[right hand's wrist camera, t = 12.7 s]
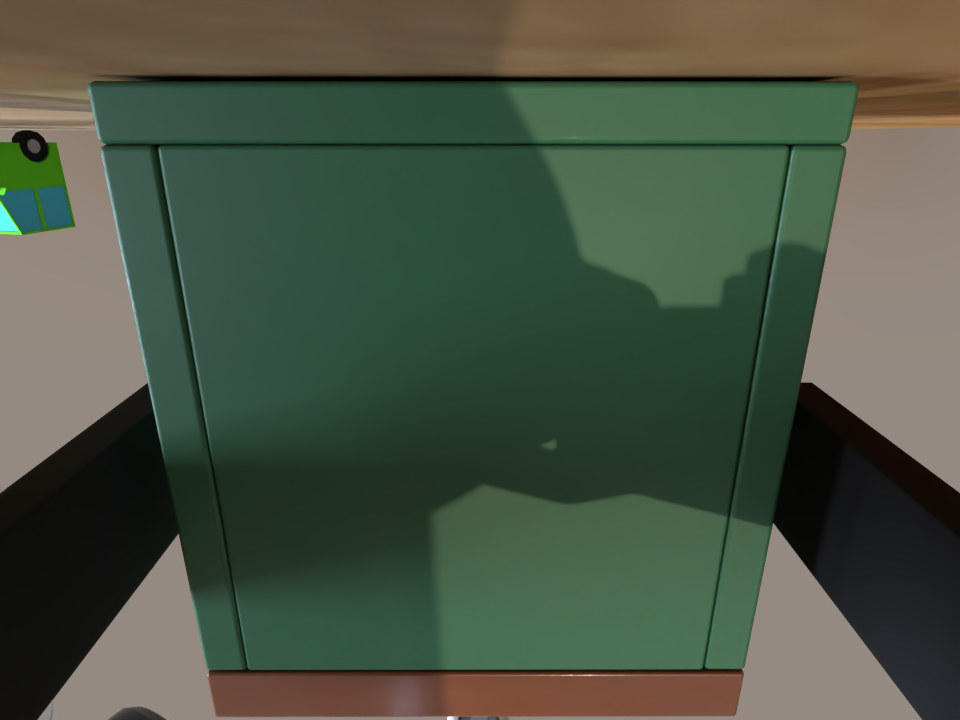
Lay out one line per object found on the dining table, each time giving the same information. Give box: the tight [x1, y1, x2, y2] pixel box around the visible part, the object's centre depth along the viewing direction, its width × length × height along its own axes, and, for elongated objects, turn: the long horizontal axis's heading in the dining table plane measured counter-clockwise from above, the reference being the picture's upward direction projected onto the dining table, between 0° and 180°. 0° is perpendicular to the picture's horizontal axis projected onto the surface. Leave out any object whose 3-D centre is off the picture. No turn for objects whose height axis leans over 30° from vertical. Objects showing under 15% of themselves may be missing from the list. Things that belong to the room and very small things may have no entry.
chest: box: [88, 81, 859, 670], centre depth 16 cm, size 16×10×10 cm, turn 0°
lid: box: [207, 664, 744, 717], centre depth 20 cm, size 16×10×9 cm, turn 0°
